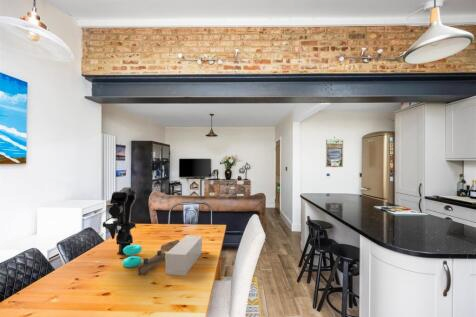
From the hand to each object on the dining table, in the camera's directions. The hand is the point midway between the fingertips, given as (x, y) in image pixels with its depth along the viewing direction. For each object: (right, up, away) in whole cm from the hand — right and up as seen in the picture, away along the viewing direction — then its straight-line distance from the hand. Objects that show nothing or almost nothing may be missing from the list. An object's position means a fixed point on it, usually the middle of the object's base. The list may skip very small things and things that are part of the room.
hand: (118, 239), depth 142 cm
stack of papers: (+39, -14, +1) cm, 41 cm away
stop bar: (+22, -13, -7) cm, 27 cm away
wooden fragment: (+22, -14, +30) cm, 40 cm away
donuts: (+9, -13, -3) cm, 17 cm away
